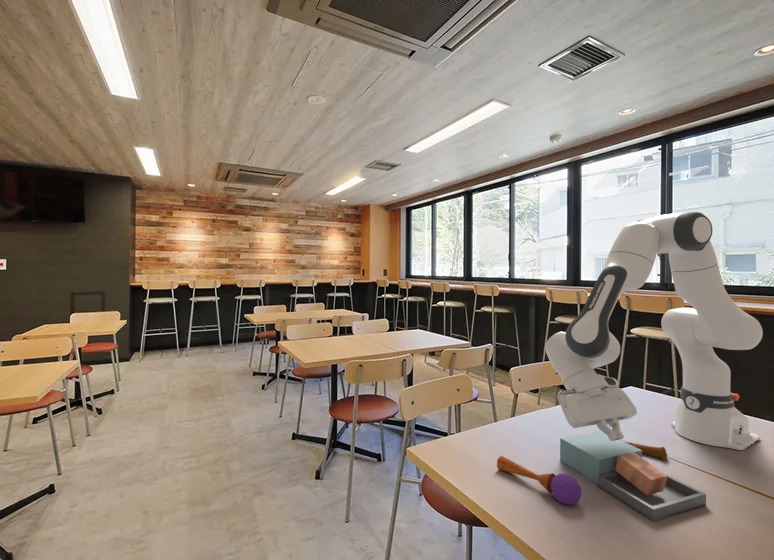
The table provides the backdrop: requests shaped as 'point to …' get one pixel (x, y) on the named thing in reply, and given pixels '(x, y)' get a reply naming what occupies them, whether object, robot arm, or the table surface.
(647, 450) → the primitive tool
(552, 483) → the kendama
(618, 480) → the box
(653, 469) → the terracotta block
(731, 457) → the table surface
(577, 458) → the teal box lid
